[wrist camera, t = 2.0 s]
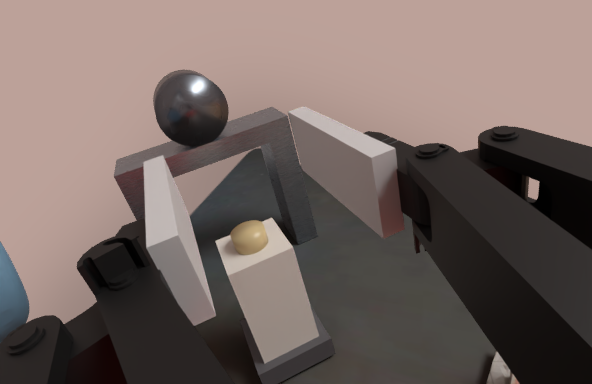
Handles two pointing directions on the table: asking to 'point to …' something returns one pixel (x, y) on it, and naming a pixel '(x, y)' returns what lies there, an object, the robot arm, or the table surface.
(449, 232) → the robot arm
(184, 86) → the grey metal arch
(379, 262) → the table surface
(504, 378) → the packaged product
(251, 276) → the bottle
